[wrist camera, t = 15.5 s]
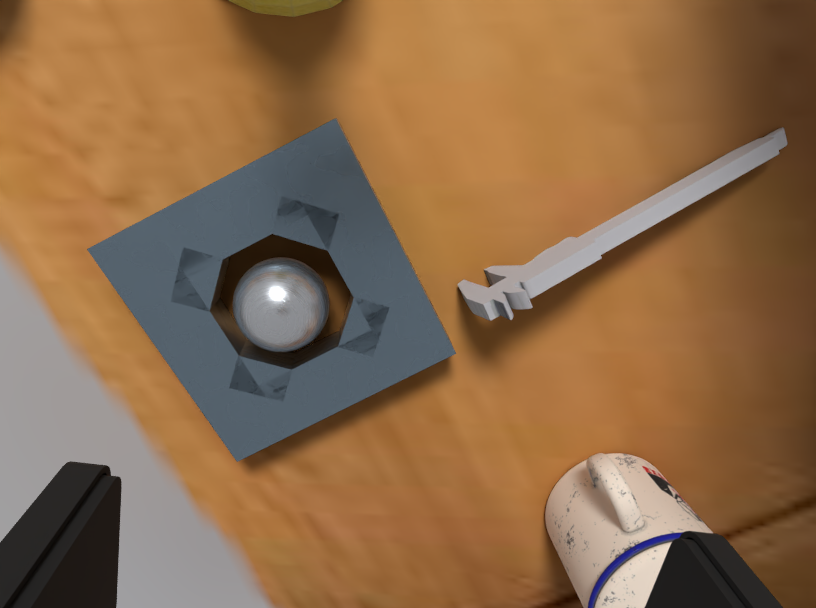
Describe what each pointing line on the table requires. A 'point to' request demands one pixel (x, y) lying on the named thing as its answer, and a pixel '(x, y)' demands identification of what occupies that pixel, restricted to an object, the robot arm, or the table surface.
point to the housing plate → (216, 328)
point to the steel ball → (281, 304)
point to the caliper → (609, 233)
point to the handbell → (286, 6)
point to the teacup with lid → (616, 528)
